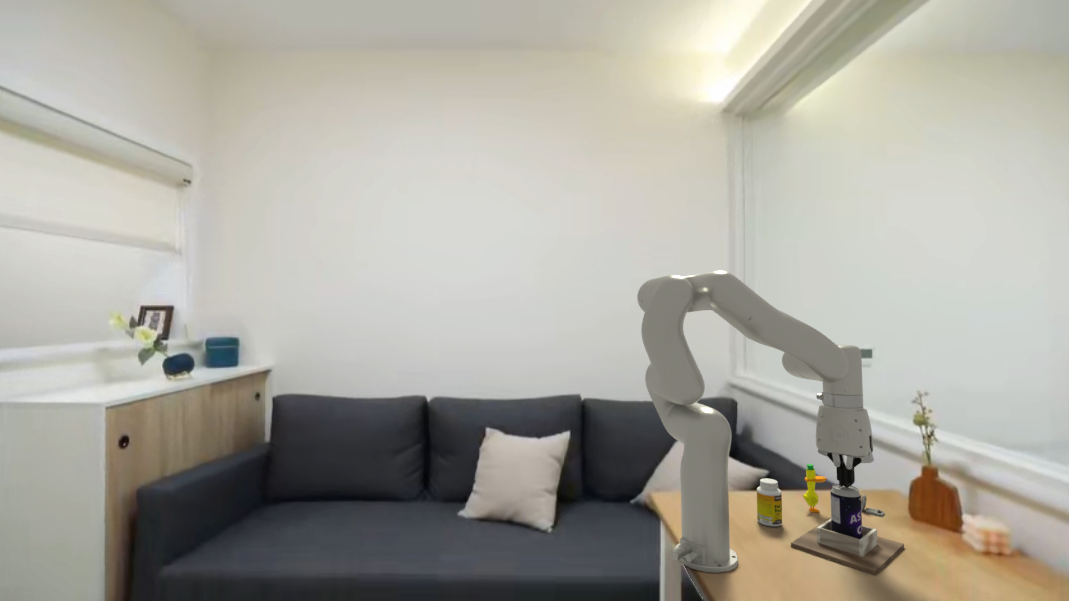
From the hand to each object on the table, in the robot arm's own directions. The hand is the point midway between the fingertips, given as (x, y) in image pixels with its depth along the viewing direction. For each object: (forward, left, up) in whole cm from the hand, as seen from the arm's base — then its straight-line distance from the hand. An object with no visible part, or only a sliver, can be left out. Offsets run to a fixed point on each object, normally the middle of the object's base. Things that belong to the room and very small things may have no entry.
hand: (845, 485), depth 110 cm
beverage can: (0, 0, -13) cm, 13 cm away
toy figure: (+16, +13, -14) cm, 25 cm away
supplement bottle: (0, +17, -14) cm, 22 cm away
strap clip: (+26, +5, -14) cm, 30 cm away
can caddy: (0, 0, -13) cm, 13 cm away
